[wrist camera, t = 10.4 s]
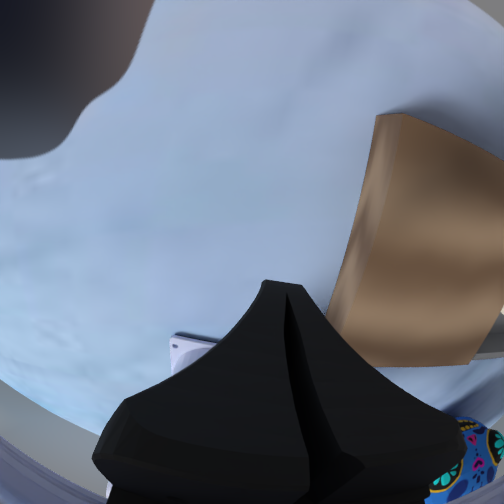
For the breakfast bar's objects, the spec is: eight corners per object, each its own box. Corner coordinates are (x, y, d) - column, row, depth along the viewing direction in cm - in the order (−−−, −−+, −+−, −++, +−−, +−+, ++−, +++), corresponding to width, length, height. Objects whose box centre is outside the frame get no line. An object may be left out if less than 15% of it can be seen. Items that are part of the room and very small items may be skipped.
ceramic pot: (496, 383, 25) (532, 458, 11) (445, 444, 32) (463, 507, 18) (401, 408, 26) (428, 515, 12) (361, 464, 33) (369, 539, 20)
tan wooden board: (451, 336, 21) (468, 364, 18) (320, 328, 21) (327, 364, 18) (513, 176, 15) (544, 189, 11) (376, 115, 15) (402, 113, 11)
